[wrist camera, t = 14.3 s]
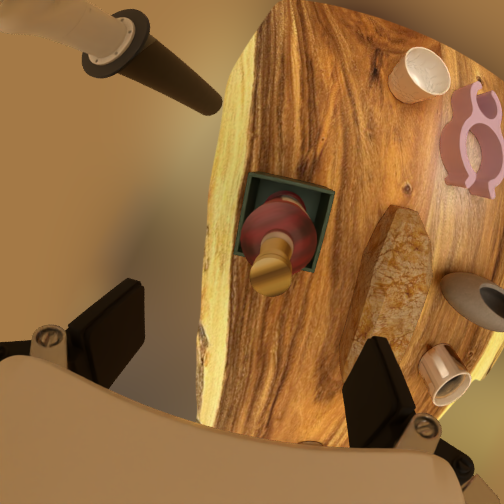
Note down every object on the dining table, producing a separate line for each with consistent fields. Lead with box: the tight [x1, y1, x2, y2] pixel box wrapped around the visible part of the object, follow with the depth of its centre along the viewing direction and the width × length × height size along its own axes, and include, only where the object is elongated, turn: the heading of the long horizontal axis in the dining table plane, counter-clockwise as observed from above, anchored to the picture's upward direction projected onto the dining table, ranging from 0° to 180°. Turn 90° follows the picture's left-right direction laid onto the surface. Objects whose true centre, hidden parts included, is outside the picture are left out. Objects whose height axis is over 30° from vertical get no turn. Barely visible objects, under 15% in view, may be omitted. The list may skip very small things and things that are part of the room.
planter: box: [440, 272, 504, 332], centre depth 33 cm, size 18×7×19 cm, turn 79°
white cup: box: [388, 47, 451, 104], centre depth 29 cm, size 8×8×10 cm
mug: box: [418, 343, 471, 406], centre depth 43 cm, size 10×12×11 cm
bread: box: [339, 205, 433, 383], centre depth 42 cm, size 36×11×10 cm, turn 175°
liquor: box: [240, 191, 317, 297], centre depth 30 cm, size 7×7×28 cm
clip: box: [440, 81, 504, 199], centre depth 31 cm, size 20×12×7 cm, turn 171°
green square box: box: [234, 172, 335, 273], centre depth 39 cm, size 11×11×10 cm
